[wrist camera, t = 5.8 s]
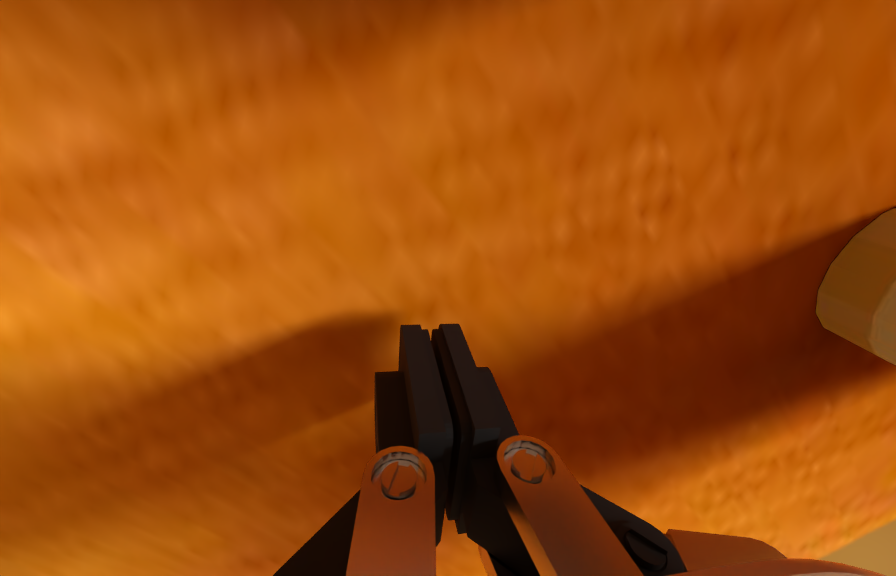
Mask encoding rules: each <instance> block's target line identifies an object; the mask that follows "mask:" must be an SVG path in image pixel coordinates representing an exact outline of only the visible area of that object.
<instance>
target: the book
mask: <svg viewBox="0 0 896 576" xmlns="http://www.w3.org/2000/svg"><path fill="white" fill-rule="evenodd" d="M816 314H817V316H818V318H819V320H820V322H821V324H822V326H823V328H825V329H827V330H829V331H831V332H833V333H835V334H837V335H839V336H841V337H842V338H844V339H846V340H848V341H850V342H852V343H854V344H856V345H858V346H860V347H861V348H863V349H865V350H867V351H869V352H871V353H873V354H875V355H877V356H878V357H880V358H882V359H884V360H886V361H888V362H890V363H892V364H894V365H896V208H894V209H892V210H889V211H887V212H885V213H883V214H881V215H880V216H879V217H878V218H876V219H875V220H874V221H873V222H871V223H870V224H869V225H868V226H866V227H865V228H864V229H863V230H861V231H860V232H859V233H857V234H856V235H855V236H854V237H853V238H852V239H851V240H850V242H849V243H848V244H847V245H846V246H845V248H844V249H843V250H842V251H841V252H840V254H839V255H838V256H837V257H836V258H835V260H834V261H833V262H832V263H831V265H830V267H829V269H828V271H827V273H826V275H825V277H824V279H823V281H822V283H821V285H820V288H819V290H818V295H817V305H816Z"/></svg>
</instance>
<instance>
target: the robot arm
mask: <svg viewBox="0 0 896 576" xmlns="http://www.w3.org/2000/svg"><path fill="white" fill-rule="evenodd" d="M375 439H376V454H375V455H374V456H373V457H372V458H371V459H370V461H369V462H368V463H367V465H366V468H365V470H364V473H363V479H362V485H361V489H360V490H359V491H358V492H357V493H356V494H355V495H354V496H353V497H352V498H351V499H350V500H349V501H348V502H347V503H346V504H345V505H344V506H343V507H342V508H341V509H340V510H339V511H338V512H337V513H336V514H335V515H334V516H333V517H332V518H331V519H330V520H329V521H328V522H327V523H326V524H325V525H324V526H323V527H322V528H321V529H320V530H319V531H318V532H317V533H316V534H315V535H314V536H313V537H312V538H311V539H310V540H308V541H307V542H306V543H305V544H304V545H303V546H302V547H301V548H300V549H299V550H298V551H297V552H296V553H295V554H294V555H293V556H292V557H291V558H290V559H289V560H288V561H287V562H286V563H285V564H284V565H283V566H282V567H281V568H280V569H279V570H278V571H277V572H276V573H275V574H274V575H273V576H436V546H437V545H438V544H439V542H440V540H441V533H442V526H443V518H444V511H445V510H446V515H447V518H448V520H455V523H456V527H457V532H458V534H463V533H467V536H468V538H470V539H471V540H473V541H474V542H475V543H477V544H478V545H479V546H478V549H479V553H480V558H481V560H482V563H483V565H484V568H485V570H486V573H487V575H488V576H885V575H882V574H879V573H876V572H873V571H869V570H865V569H861V568H857V567H854V566H849V565H845V564H842V563H835V562H829V561H822V560H814V559H788V558H786V557H785V556H784V555H783V554H781V553H780V552H779V551H778V550H776V549H775V548H773V547H771V546H770V545H768V544H766V543H764V542H762V541H759V540H756V539H752V538H746V537H737V536H728V535H719V534H710V533H700V532H691V531H682V530H673V529H668V531H667V533H666V534H663V533H662V532H661V531H659V530H658V529H657V528H655V527H654V526H652V525H651V524H649V523H648V522H646V521H644V520H642V519H640V518H639V517H637V516H635V515H633V514H631V513H630V512H628V511H626V510H624V509H623V508H621V507H619V506H617V505H615V504H614V503H612V502H610V501H608V500H607V499H605V498H603V497H601V496H599V495H598V494H596V493H594V492H592V491H590V490H589V489H587V488H585V487H583V486H582V485H580V484H579V483H578V482H577V481H576V479H575V478H574V476H573V475H572V474H571V472H570V471H569V469H568V468H567V467H566V465H565V464H564V462H563V461H562V459H561V458H560V457H559V455H558V454H557V453H556V452H555V451H554V449H553V448H552V447H551V446H549V445H548V444H547V443H545V442H544V441H542V440H540V439H537V438H535V437H532V436H526V435H519V433H518V431H517V429H516V427H515V424H514V422H513V420H512V418H511V415H510V413H509V411H508V409H507V406H506V404H505V402H504V400H503V398H502V395H501V393H500V391H499V389H498V386H497V384H496V382H495V380H494V377H493V375H492V373H491V371H490V369H489V368H488V367H476V365H475V362H474V360H473V357H472V355H471V352H470V350H469V347H468V345H467V342H466V340H465V337H464V335H463V332H462V330H461V327H460V325H459V324H440V325H439V328H438V329H433V330H432V337H431V340H430V336H429V332H428V330H427V329H425V330H422V329H421V326H420V325H401V328H400V347H399V369H398V371H392V372H375Z"/></svg>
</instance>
